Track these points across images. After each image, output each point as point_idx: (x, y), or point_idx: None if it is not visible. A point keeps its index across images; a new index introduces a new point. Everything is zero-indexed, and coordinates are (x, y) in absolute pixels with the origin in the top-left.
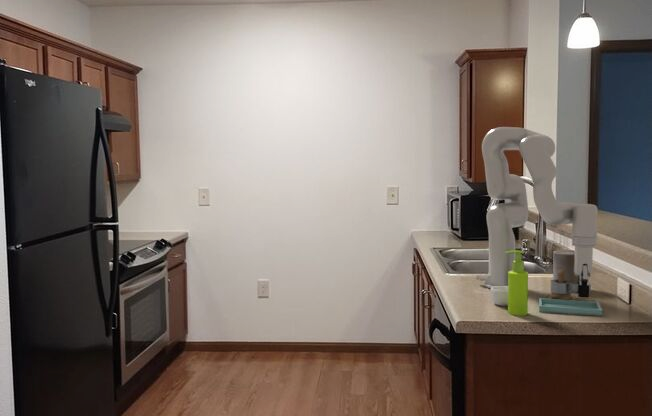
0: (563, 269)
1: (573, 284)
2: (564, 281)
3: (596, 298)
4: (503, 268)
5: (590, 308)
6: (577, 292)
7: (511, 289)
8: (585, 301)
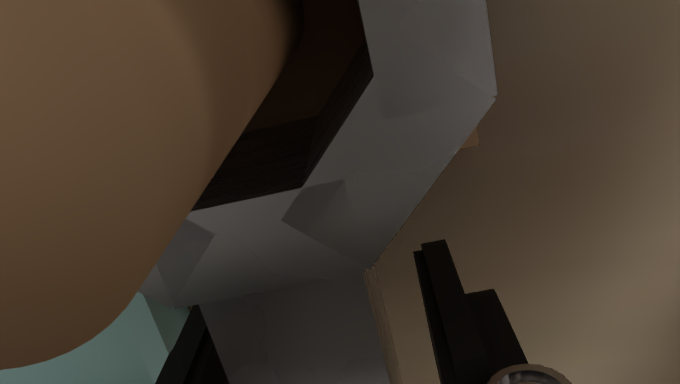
0: (133, 278)
1: (204, 316)
2: (354, 103)
3: (647, 351)
4: None
5: (74, 369)
6: (424, 249)
7: None
8: (146, 348)
